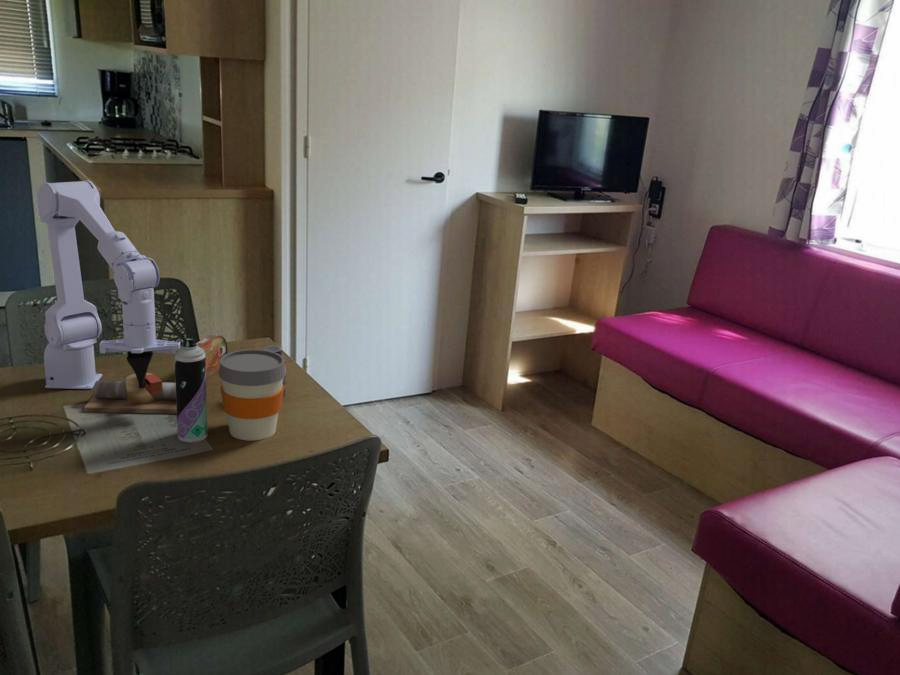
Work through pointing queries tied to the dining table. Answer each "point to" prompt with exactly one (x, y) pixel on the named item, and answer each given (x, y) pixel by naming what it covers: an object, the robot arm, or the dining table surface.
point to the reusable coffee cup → (252, 392)
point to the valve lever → (153, 384)
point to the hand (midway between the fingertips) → (142, 386)
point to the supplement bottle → (278, 351)
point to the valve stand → (131, 398)
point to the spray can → (191, 392)
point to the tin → (213, 352)
